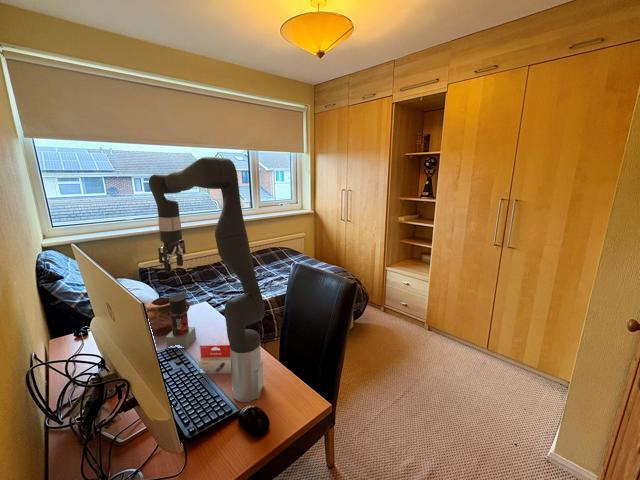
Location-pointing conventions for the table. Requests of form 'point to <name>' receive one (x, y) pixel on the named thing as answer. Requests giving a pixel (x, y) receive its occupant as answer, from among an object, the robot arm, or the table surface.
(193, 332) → the grey block
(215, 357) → the ink cartridge box
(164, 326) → the decorated ceramic mug
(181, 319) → the deodorant
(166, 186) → the robot arm
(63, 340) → the table surface
